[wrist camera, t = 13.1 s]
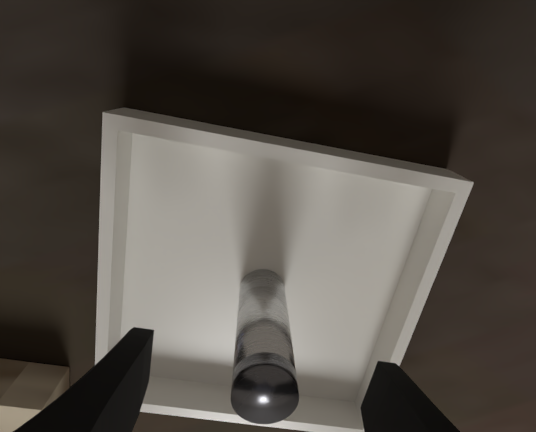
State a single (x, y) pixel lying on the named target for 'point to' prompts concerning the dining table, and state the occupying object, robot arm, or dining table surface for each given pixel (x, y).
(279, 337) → the pin
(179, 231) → the parts tray
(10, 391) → the pin socket
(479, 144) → the dining table surface
